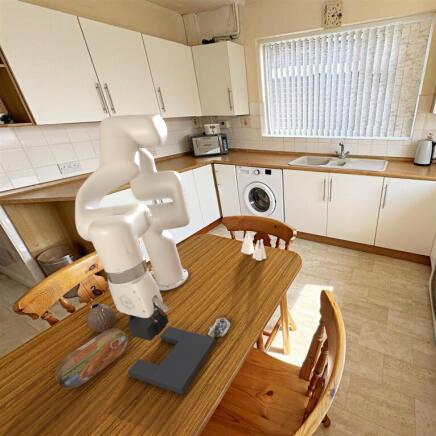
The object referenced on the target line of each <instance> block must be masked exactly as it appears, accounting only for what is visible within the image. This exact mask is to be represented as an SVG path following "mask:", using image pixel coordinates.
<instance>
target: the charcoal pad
mask: <svg viewBox="0 0 436 436" xmlns="http://www.w3.org/2000/svg"><path fill="white" fill-rule="evenodd" d="M159 337H160V340H161V341H163V342H165V343H170V344H172V345H174V346H173V348H172V349H171V350H170V351H169V353H168V354H167V355H166V356H165V357H164V359H163V360H162V361H161V362H160V363H159V364H156V363H153V362H149V361H146V360H144V359H140V358H138V359H137V360H136V361H135V363H134V364H132V366H130V368H129V369H128V370H127V374H128V375H129V377H131V378H133V379H137V380H139V381H142V382H145V383H147V384H151V385H153V386H156V387H160V388H161V389H165V390H168V391H170V392H173V393H177V394H179V395H181V396H182V395H184V393H185V392H186V391H187V389H188V388H189V386H190V384H191V383H192V381H193V379H194V378H195V376H196V375H197V373H198V372H199V370H200V369H201V367H202V366H203V364H204V363H205V361H206V359H207V358H208V357H209V355H210V353H211V352H212V350H213V349H214V348H215V345H216V344H217V342H216V341H217V340H216V337H214V338H212V336H211V337H210V336H208V335H204V334H199V333H196V332H191V331H188V330H184V329H181V328H177V327H173V326H170V325H169V326H166V327H165V329H164V330H163V331H162V333H160V334H159Z"/></svg>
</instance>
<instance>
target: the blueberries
mask: <svg viewBox="0 0 436 436" xmlns="http://www.w3.org/2000/svg"><path fill="white" fill-rule="evenodd" d="M231 324H232V323H231V322H230V320H228V319H227V318H226V317H219V318H217V319H216V320H215V322H214V323H213V324H211V327H210V326H209V329H208V330H207V332H206V334H207V336H208V337H211V338H215V339H216V338H219V337H221V338H222V337H225V335H226V334H227V333H228V331H229V329H230V328H231Z"/></svg>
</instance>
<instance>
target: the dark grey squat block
mask: <svg viewBox="0 0 436 436" xmlns="http://www.w3.org/2000/svg"><path fill="white" fill-rule="evenodd" d="M153 315H154V316H155V317H156V316H157V315H158V312H157V311H155V312H154V313H153ZM164 319H165V322H166V325H168V323H170V321H169V318H168V315H167V313H166V314H165V315H164ZM151 323H152V321H151V319H150V318H142V317H137V316H135V317H134V318H133V319H132V320H131V321H130V320H129V322H127V323H126V326H127V328H128V331H129V333H130V335H131V336H132V337H135V338H137V339H143V340H146V341H149V342H152V341H153V340H154V339H155V338H156V337H157V335H155V333H154V330H153V328H152V325H151Z"/></svg>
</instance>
